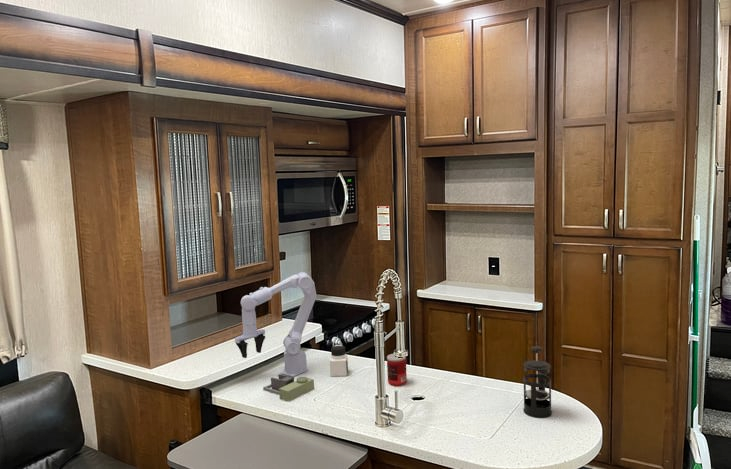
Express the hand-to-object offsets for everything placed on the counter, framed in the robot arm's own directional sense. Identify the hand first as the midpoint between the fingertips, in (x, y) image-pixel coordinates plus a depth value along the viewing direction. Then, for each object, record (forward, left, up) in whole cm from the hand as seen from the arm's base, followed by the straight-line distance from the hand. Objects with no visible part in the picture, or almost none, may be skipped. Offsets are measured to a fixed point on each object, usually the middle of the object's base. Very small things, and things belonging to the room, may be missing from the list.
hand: (251, 354), depth 223 cm
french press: (-34, +111, -11) cm, 117 cm away
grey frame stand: (+1, +22, -10) cm, 24 cm away
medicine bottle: (-24, +28, -11) cm, 38 cm away
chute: (+1, +20, -10) cm, 22 cm away
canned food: (-29, +55, -11) cm, 63 cm away
